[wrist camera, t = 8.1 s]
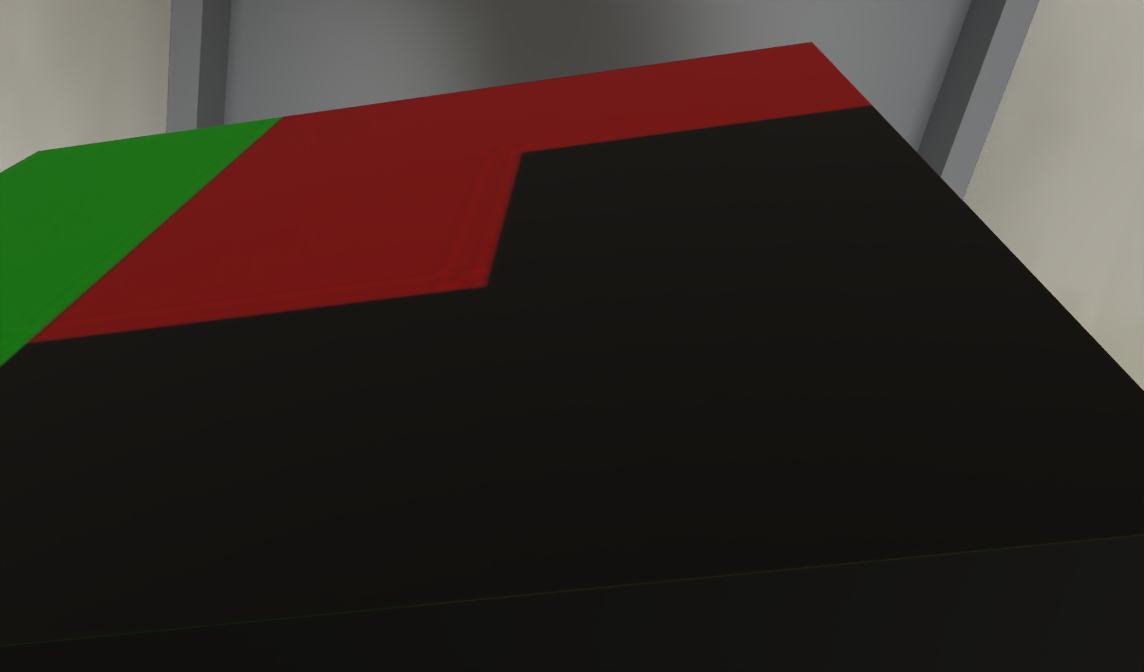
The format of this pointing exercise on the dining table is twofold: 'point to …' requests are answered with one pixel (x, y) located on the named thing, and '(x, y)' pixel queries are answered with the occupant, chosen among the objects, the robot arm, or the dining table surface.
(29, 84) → the dining table surface
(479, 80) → the tray
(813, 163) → the puzzle toy
